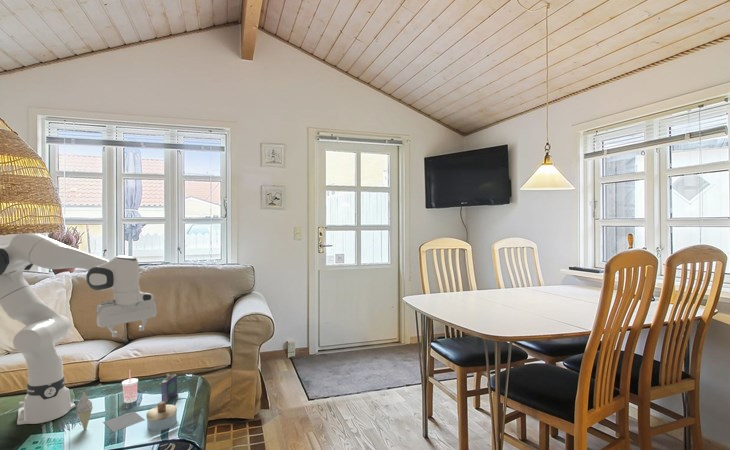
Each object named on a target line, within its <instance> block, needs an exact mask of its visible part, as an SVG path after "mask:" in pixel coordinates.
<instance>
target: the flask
mask: <svg viewBox="0 0 730 450" xmlns="http://www.w3.org/2000/svg"><path fill="white" fill-rule="evenodd" d="M165 376H166V378H165V379H163V380H162V381H161V382H160V383H161V402H168V401H169V399H170V400H172V399H173V398H174V397H175V396H177V395H178V374H176V373H175V374H173V373H172V374H169V373H166V375H165Z"/></svg>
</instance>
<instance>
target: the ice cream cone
mask: <svg viewBox="0 0 730 450" xmlns="http://www.w3.org/2000/svg"><path fill="white" fill-rule="evenodd" d="M75 407H76V409H75V410H76V413H77V415H78V418H79V421H80V423H81V425H82V426H81V427H82V429H83V430H84V431H86V430H87V428H88V424H89V421H90V418H91V414H92V411H93V409H94V408H93V402H92V400H91V399H89V397H88V395H87V394H86V392H85V391H83V392H82V394H81V396H80V398H79V402H78V403H77V405H75Z"/></svg>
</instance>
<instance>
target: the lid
mask: <svg viewBox="0 0 730 450" xmlns="http://www.w3.org/2000/svg"><path fill="white" fill-rule="evenodd" d="M166 402H167V401H166ZM166 402H162V401H160V402H157V405H156V406H155V407H153V408H151V409H149V410H147V412H146V413H145V414H146V420H147V419H148V420H152V421H158V420H163V419H167V418H169V417H171V416H173V415H174V414H175V413H176V412H178V407H177V405H174V404H167V403H166Z"/></svg>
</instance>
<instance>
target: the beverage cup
mask: <svg viewBox="0 0 730 450" xmlns="http://www.w3.org/2000/svg"><path fill="white" fill-rule="evenodd" d="M128 374H129V375H128V379H124V380H123V381H121V385H122V392H123V399H124V400H123V401H124V403H125V404H130V403H134V402H136V401H138V382H139V379H138V378H134V377H133V378H132V377H131V369H128Z"/></svg>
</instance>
